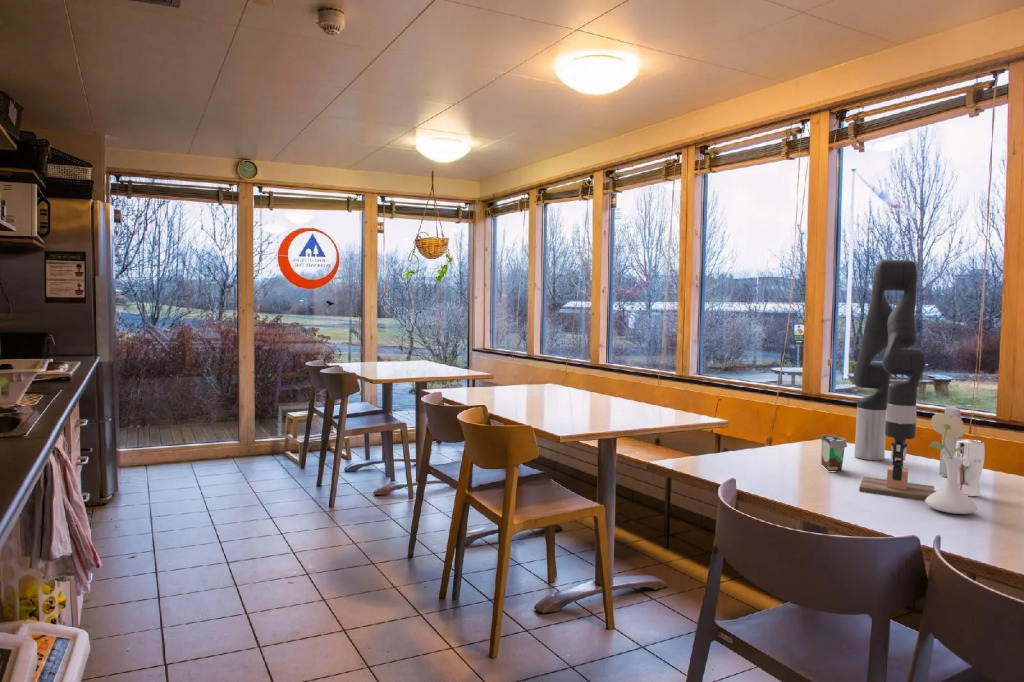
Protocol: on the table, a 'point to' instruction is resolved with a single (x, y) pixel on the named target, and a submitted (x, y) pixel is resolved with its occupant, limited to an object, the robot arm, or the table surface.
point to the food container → (832, 452)
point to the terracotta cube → (895, 483)
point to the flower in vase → (950, 469)
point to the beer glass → (970, 465)
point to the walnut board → (881, 487)
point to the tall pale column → (948, 441)
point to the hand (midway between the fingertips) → (897, 477)
